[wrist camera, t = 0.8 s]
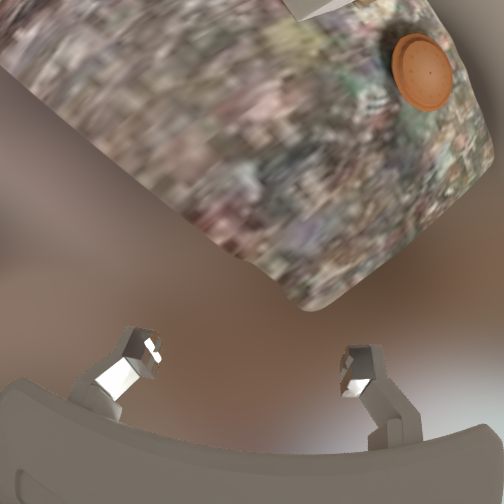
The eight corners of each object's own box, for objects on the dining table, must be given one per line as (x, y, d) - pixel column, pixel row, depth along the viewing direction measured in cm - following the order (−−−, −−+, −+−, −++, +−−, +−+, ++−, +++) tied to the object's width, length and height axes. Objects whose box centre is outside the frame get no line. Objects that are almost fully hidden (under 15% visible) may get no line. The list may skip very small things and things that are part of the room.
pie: (376, 28, 30) (391, 25, 26) (437, 41, 30) (454, 42, 26) (383, 106, 39) (399, 111, 35) (441, 110, 40) (457, 115, 35)
